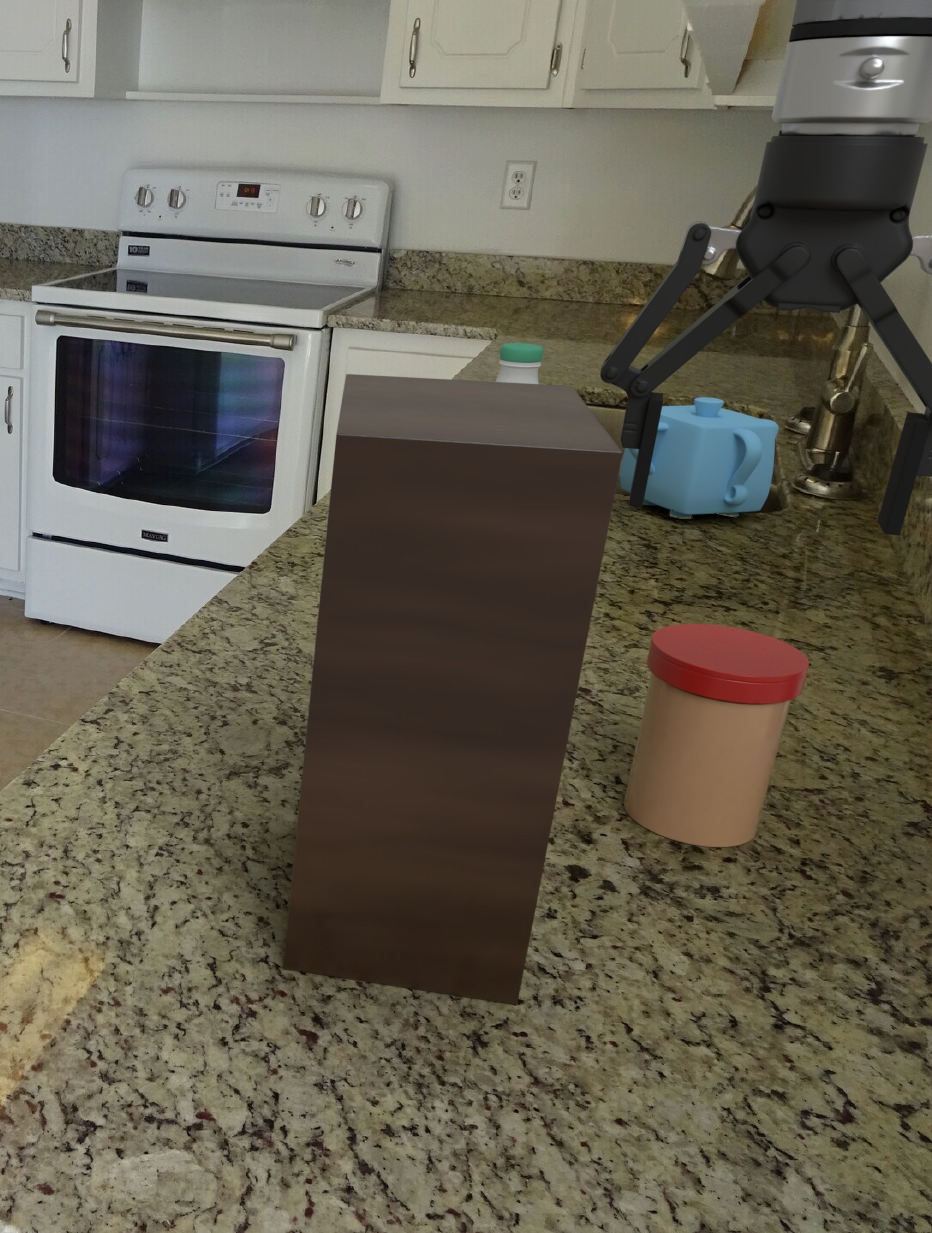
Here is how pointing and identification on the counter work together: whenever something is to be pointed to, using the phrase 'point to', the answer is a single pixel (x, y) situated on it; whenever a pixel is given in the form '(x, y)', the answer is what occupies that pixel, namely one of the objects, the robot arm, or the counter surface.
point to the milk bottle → (519, 363)
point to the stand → (444, 677)
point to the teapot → (707, 460)
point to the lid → (727, 663)
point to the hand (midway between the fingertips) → (757, 515)
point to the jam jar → (702, 766)
